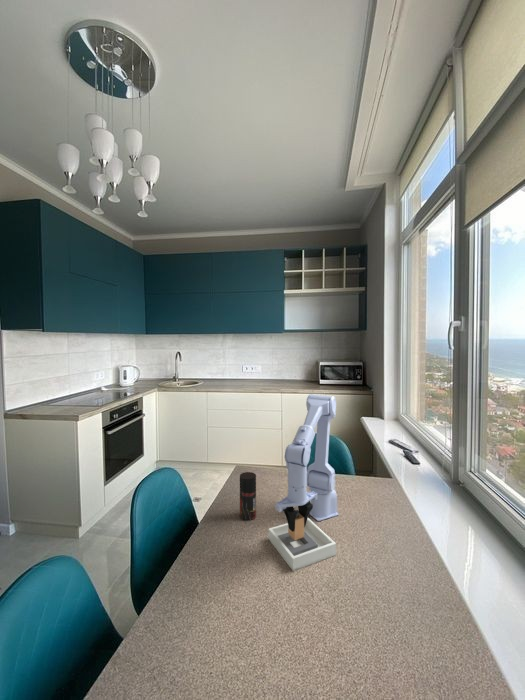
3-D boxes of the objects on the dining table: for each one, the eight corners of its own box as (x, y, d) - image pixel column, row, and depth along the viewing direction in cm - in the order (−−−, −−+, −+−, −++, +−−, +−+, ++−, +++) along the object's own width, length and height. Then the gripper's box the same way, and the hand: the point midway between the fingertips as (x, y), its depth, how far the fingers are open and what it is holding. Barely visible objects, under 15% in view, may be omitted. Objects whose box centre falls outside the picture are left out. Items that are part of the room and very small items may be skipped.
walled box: (307, 527, 103) (307, 517, 103) (336, 554, 90) (336, 543, 90) (268, 539, 97) (268, 528, 97) (292, 571, 83) (293, 558, 83)
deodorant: (253, 521, 106) (253, 479, 106) (237, 519, 108) (237, 478, 107) (257, 512, 112) (257, 472, 112) (242, 510, 113) (242, 471, 113)
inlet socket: (301, 534, 99) (301, 528, 98) (317, 551, 90) (317, 544, 90) (277, 542, 95) (277, 535, 95) (292, 560, 87) (292, 553, 86)
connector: (297, 530, 95) (297, 507, 95) (304, 536, 92) (304, 512, 92) (288, 534, 93) (288, 510, 93) (295, 540, 90) (294, 515, 90)
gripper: (307, 473, 99) (307, 514, 100) (270, 484, 92) (270, 527, 92) (321, 482, 93) (321, 525, 93) (283, 494, 86) (283, 540, 86)
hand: (297, 527), depth 92 cm, fingers closed on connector, 3 cm apart
